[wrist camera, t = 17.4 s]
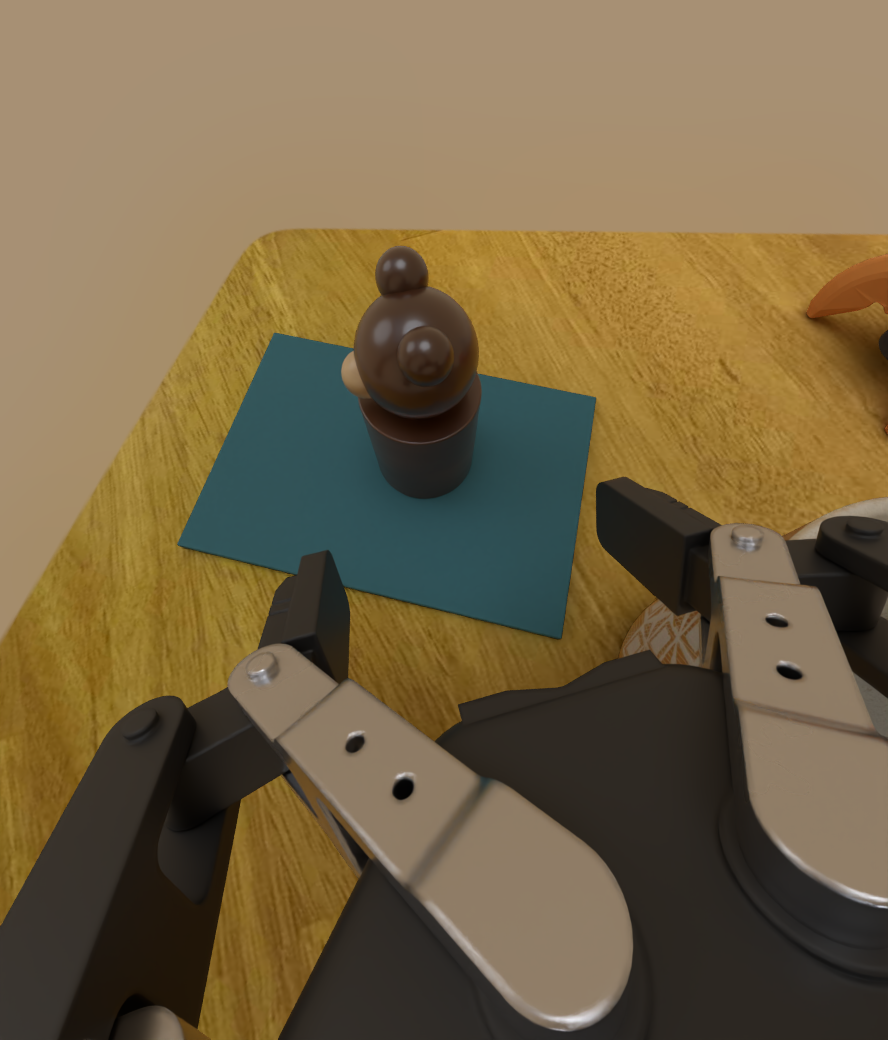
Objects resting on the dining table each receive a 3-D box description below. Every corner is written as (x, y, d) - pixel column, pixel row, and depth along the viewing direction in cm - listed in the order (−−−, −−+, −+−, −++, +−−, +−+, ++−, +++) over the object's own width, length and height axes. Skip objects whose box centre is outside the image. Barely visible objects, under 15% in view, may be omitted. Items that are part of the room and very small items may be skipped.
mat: (182, 547, 22) (176, 544, 21) (277, 337, 26) (274, 332, 26) (558, 639, 20) (561, 639, 20) (593, 402, 25) (596, 397, 24)
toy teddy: (383, 510, 22) (332, 381, 12) (364, 427, 24) (305, 249, 13) (483, 486, 22) (517, 342, 12) (458, 406, 24) (470, 219, 14)
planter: (590, 556, 22) (714, 470, 12) (837, 584, 21) (1181, 520, 11) (588, 843, 18) (775, 1078, 8) (892, 884, 17) (1495, 1186, 7)
